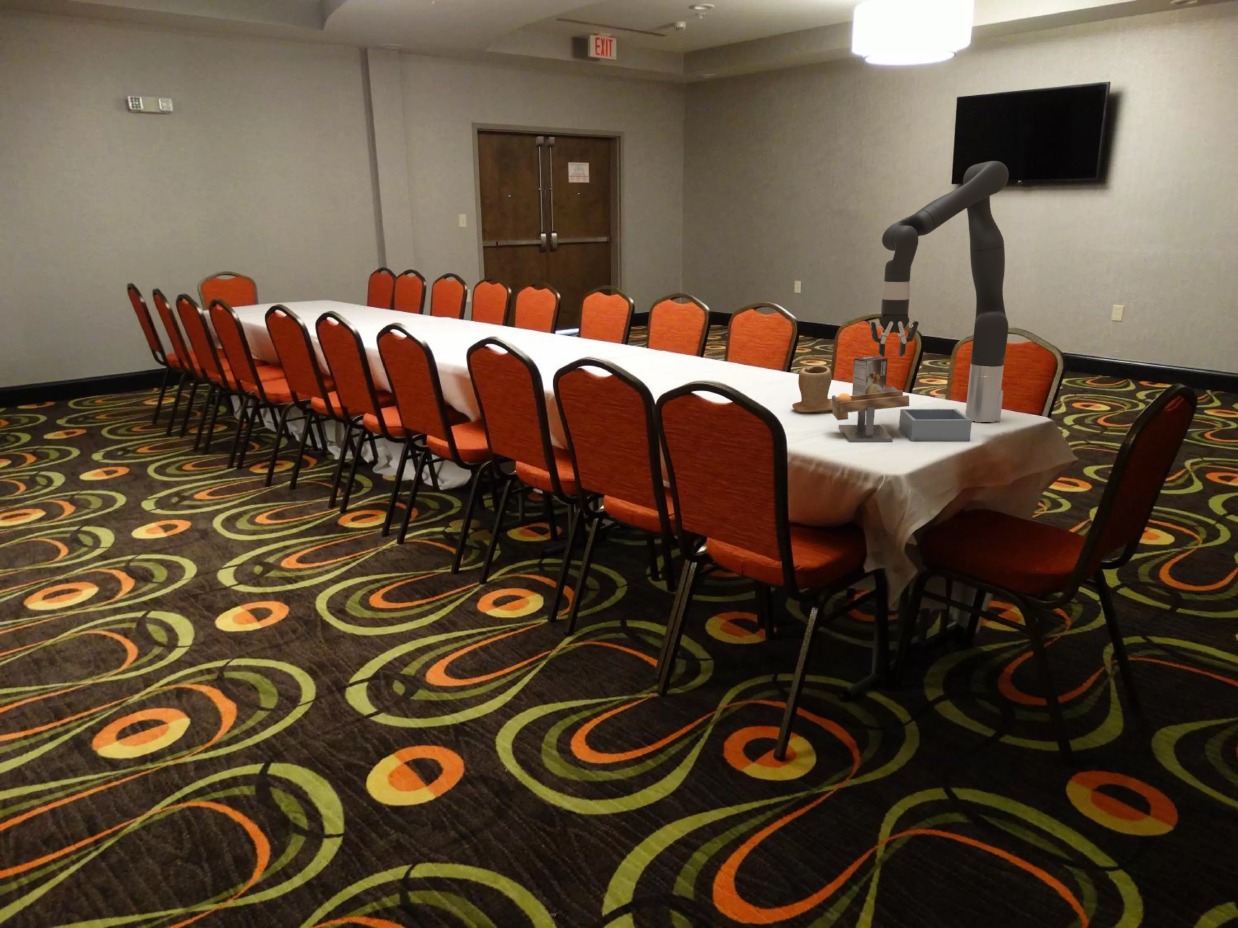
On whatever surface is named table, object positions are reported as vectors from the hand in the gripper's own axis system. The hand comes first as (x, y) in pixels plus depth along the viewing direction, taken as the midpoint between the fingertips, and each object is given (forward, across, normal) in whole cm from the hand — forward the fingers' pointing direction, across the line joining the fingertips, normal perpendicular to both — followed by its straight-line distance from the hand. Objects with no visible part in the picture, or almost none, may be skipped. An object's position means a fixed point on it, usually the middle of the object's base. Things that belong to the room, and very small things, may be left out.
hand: (891, 356), depth 246 cm
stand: (+21, +8, +10) cm, 25 cm away
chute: (+15, +7, +5) cm, 17 cm away
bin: (+21, -11, +10) cm, 26 cm away
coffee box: (+22, 0, -28) cm, 35 cm away
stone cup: (+22, +18, -20) cm, 34 cm away
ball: (+11, +15, +10) cm, 21 cm away
